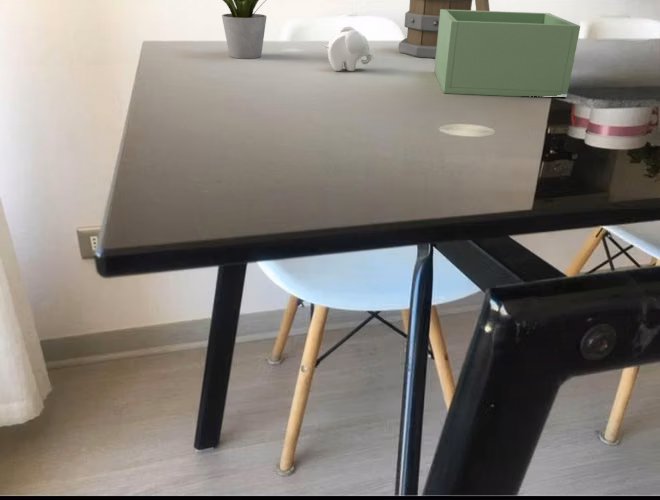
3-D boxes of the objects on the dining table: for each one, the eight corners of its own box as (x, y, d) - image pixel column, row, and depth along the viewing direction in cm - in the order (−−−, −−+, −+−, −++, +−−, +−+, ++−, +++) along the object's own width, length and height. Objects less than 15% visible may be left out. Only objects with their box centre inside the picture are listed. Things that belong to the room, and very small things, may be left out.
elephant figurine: (377, 74, 92) (379, 31, 89) (322, 74, 91) (323, 30, 88) (368, 66, 98) (371, 25, 95) (317, 65, 97) (318, 24, 94)
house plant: (304, 63, 98) (305, -53, 91) (215, 66, 94) (209, -56, 87) (280, 49, 110) (279, -55, 103) (200, 51, 106) (194, -57, 99)
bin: (538, 75, 94) (549, 13, 91) (566, 98, 80) (580, 25, 77) (434, 71, 95) (440, 9, 91) (443, 93, 81) (451, 21, 77)
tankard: (386, 49, 114) (392, -43, 107) (441, 45, 119) (450, -42, 113) (458, 68, 98) (470, -38, 91) (518, 63, 104) (533, -37, 97)
